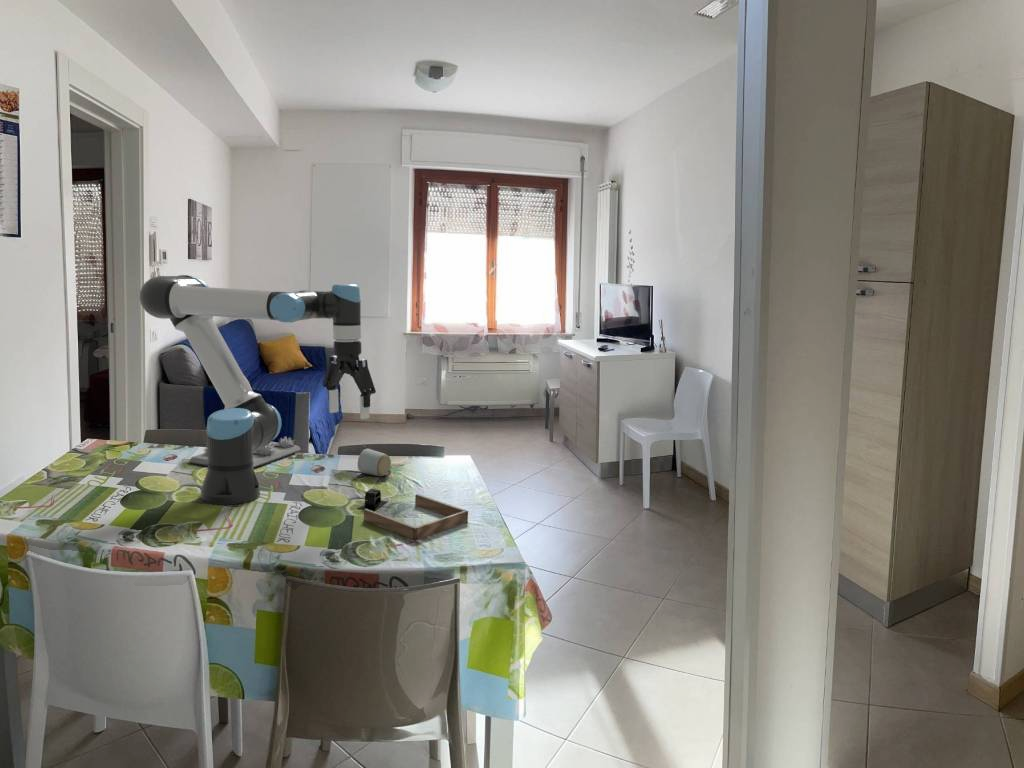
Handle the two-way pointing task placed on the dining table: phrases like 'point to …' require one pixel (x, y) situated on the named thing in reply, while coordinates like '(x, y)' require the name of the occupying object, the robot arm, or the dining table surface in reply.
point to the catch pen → (453, 519)
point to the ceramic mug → (374, 463)
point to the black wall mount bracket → (372, 500)
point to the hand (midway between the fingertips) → (349, 415)
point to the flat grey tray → (260, 453)
